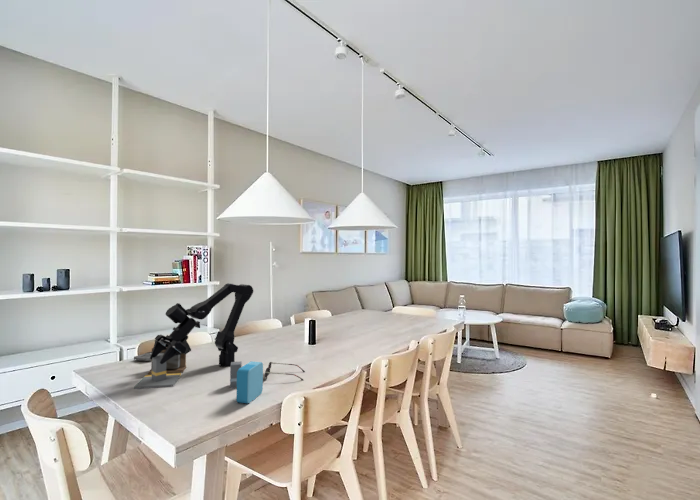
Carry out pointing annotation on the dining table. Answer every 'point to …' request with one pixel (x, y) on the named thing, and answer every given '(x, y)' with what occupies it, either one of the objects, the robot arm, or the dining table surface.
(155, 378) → the block
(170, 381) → the pad
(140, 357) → the graphics card
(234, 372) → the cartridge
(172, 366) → the mounted unit
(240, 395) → the blue flat block
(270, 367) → the sunglasses
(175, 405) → the dining table surface
